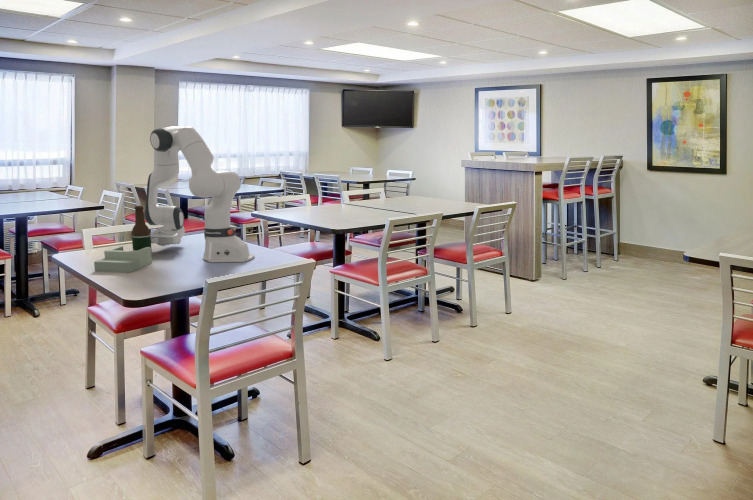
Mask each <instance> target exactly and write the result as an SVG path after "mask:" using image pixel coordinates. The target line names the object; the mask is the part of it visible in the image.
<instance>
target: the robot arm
mask: <svg viewBox="0 0 753 500" xmlns="http://www.w3.org/2000/svg"><path fill="white" fill-rule="evenodd" d="M149 142H150V145H151V147H152V148H153V171H152V172H151V173H150V174H149V176H148V178H147V184H146V198H145V206H144V209H143V213H144V220H145V223H146V224H148V225H149V226H161V227H158V228H156V229H155V230H154V231H153V233H152V232H150V235H151V244H156V245H158V246H161V247H165V246H169V245H178V244H181V242H182V241H181V240H182V238H183V237H184V235H185V232H186V229H185V227H184V226H185V225H184V224H185V215H184V212H183V210H182V209H181V208H180V206H177V205H160V204H158V193H159V187H160V186H161V185H164V184H167V183H169V182H172V181H174V180H175V179H176V178H177V177H178V175H179V172H180V164H179V163H180V162H179V161H180V160H179V155H178V154H179V152H180V151H181V153H182V155H183V157H184V158H185V161H187V164H188V166H189V167H190V170H191V177H190V178H189V181H188V189H189V192H190V193H191V195H193V196H194V197H198V198H205V199H206V198H211V201H210V202H209V204H208V205H207V206H206V207H205V209H204V213H203V214H204V228H203V231H204V232H203V235H204V244H205V245H204V252H203V256H202V257H203V258H202V259H203V260H204V261H207V262H209V263H244V262H248V261H251V260H253V259H254V258H255V255H254V253H250V250H249V246H248V244H247V243H246V242H245V241H244V240H242V239H241V238H240V237H238V236H237V235H236V230H237V229H236V228H235V227H234V228H233V227H232V226H231V208H232V203H233V200H234V198H235V196H236V193H238V192H239V191H240V188H241V185H242V183H241V182H242V181H241V177H240V176H239V175H238V174H237V173H236V172H235V171H230V170H218V171H215V170H214V169H213V168H212V165H213V162H214V159H215V158H214V155H213V153H212V151H211V150H210V148H209V147H208V145H207V144H206V141H204V139H203V137H202V136H201V134H200V133H199V132H198V131H197V130H196V129H195V128H194V127H193V126H189V125H188V126H187V125H183V126H179V125H178V126H166V127H159V128H155V129H153V130H152V131H151V133H150V136H149Z"/></svg>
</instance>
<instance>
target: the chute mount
mask: <svg viewBox="0 0 753 500" xmlns="http://www.w3.org/2000/svg"><path fill="white" fill-rule="evenodd" d="M151 249H152V246H151V247H145V248H143V249H140V250H137V251H133V250H124V246H122V245H119V246H115V247H113V248H109V249H107V250H105V251H104V252H103V253H104V257H103V258H101V259H97V260H95V261H93V263H94V264H93V266H94V272H105V273H106V272H107V273H108V272H109V273H111V272H112V273H134V272H136V271H138V270H140V269H141V268H144V267H146V266H149V265H151V264H152V263H153V253H152V254H151Z"/></svg>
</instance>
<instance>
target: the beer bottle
mask: <svg viewBox="0 0 753 500" xmlns="http://www.w3.org/2000/svg"><path fill="white" fill-rule="evenodd" d="M134 209H135V210H134V211H135V213H134V214H135V217H134V218H135V223H134V226H133V227H132V229H131V243H132V251H137V250H140V249H143V248H145V247H151V254H152V255H153V250H152V243H151V235H150V233H151V230H150V228H149V226H147V223H146V220H145V219H144V210H145V207H144V206H143V205H136V206H134Z"/></svg>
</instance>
